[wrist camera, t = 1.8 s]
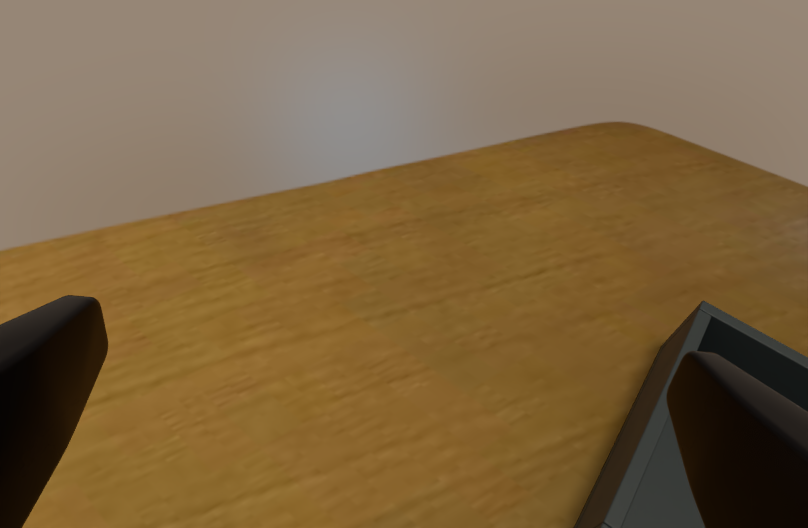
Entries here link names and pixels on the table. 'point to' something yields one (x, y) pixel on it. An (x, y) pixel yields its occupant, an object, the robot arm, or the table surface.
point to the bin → (654, 434)
